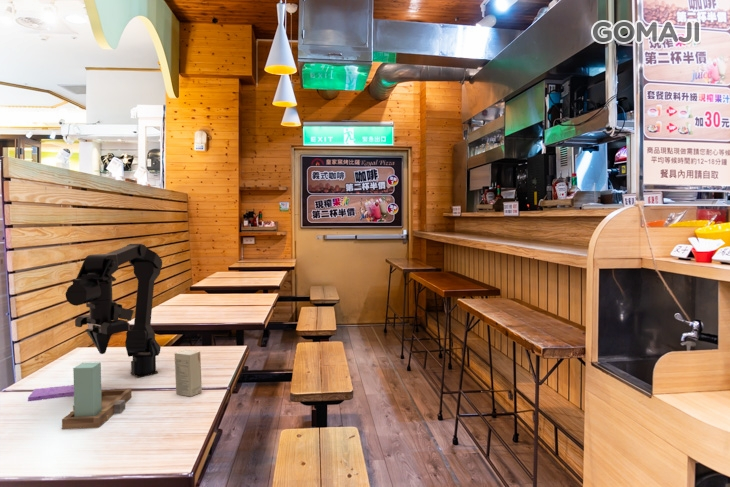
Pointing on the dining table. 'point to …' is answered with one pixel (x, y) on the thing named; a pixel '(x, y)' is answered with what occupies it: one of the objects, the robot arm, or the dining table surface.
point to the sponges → (51, 393)
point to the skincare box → (188, 372)
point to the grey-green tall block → (87, 389)
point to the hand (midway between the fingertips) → (102, 353)
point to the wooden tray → (110, 405)
